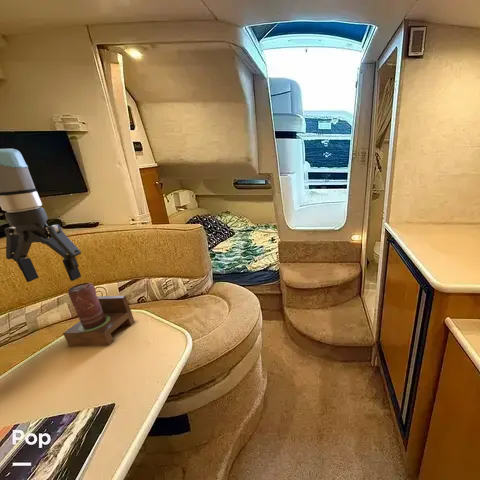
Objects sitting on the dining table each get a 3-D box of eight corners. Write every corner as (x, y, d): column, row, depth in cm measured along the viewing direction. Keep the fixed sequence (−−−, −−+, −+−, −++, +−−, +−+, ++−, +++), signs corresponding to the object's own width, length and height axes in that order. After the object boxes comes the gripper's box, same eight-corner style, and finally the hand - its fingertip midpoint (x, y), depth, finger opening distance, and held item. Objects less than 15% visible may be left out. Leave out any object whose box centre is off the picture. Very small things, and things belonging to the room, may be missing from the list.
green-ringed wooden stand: (69, 348, 88) (55, 317, 84) (100, 324, 99) (88, 296, 95) (109, 347, 87) (97, 316, 83) (135, 324, 98) (125, 295, 94)
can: (110, 320, 91) (96, 283, 86) (88, 331, 85) (72, 293, 81) (101, 315, 93) (87, 280, 89) (79, 326, 88) (63, 289, 83)
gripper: (80, 204, 75) (104, 272, 82) (-3, 207, 76) (28, 274, 83) (54, 210, 68) (83, 284, 75) (-37, 214, 69) (0, 286, 76)
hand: (54, 279), depth 79 cm, fingers open, 13 cm apart
